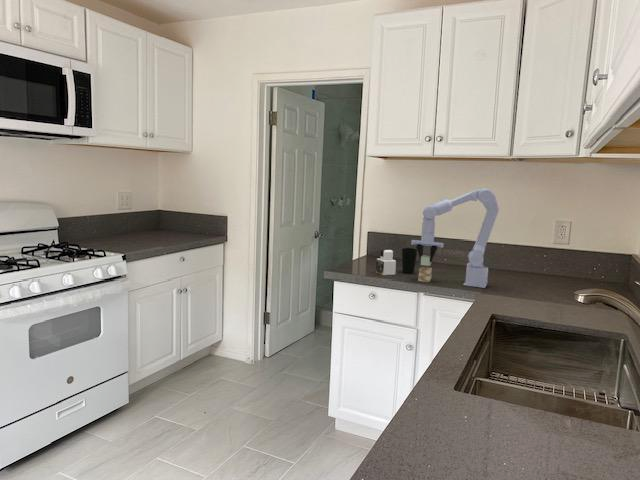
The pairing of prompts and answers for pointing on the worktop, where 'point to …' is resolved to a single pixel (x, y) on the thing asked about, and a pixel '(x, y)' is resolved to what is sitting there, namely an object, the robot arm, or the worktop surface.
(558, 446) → the worktop surface
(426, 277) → the lower slab
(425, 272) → the upper slab
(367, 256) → the worktop surface
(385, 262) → the medicine bottle
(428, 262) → the green cube
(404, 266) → the cup
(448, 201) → the robot arm
